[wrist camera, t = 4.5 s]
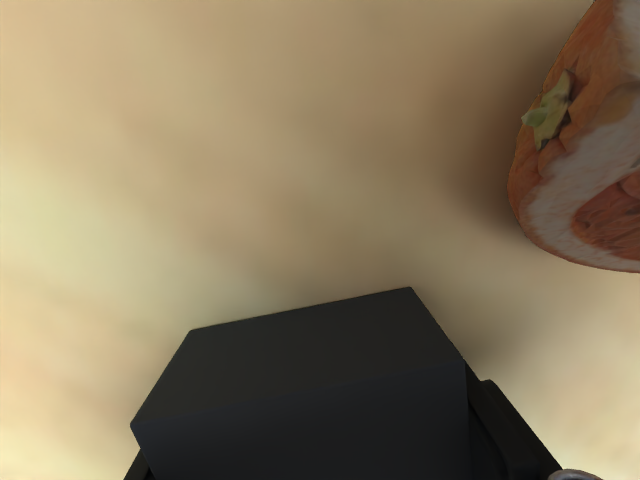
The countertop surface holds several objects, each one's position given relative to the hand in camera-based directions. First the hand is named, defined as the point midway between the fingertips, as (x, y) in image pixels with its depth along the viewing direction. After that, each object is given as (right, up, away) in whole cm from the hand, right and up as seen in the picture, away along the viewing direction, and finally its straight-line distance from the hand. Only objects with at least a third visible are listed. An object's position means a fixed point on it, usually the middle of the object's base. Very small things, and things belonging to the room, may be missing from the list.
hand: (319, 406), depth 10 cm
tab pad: (0, -1, +1) cm, 2 cm away
